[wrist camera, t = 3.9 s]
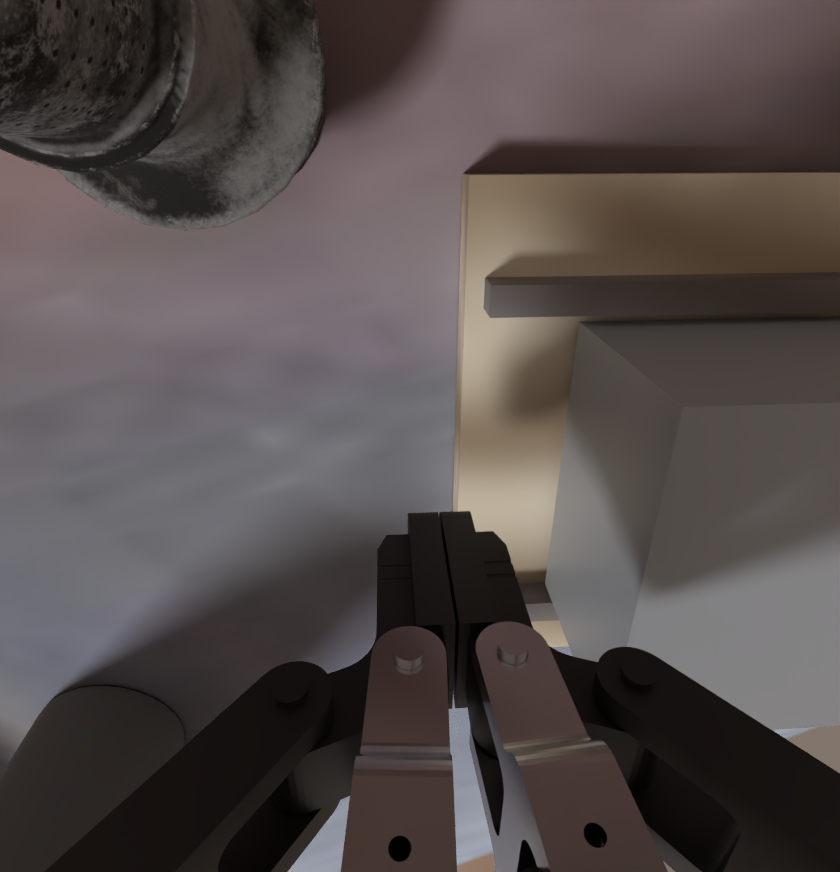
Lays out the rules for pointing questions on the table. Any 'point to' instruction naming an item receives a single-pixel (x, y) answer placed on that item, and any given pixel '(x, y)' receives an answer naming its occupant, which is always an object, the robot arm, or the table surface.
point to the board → (606, 309)
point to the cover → (707, 507)
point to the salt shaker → (164, 101)
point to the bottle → (79, 770)
